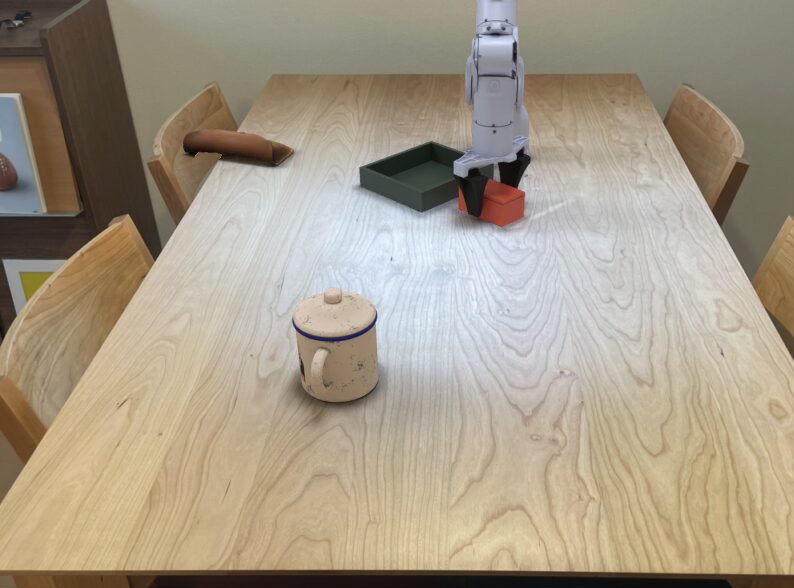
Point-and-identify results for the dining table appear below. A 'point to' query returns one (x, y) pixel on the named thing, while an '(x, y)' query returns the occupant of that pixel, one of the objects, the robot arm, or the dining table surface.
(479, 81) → the robot arm
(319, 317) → the teacup with lid
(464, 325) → the dining table surface
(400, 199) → the tote
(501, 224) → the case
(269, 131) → the dining table surface
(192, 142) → the sunglasses case
